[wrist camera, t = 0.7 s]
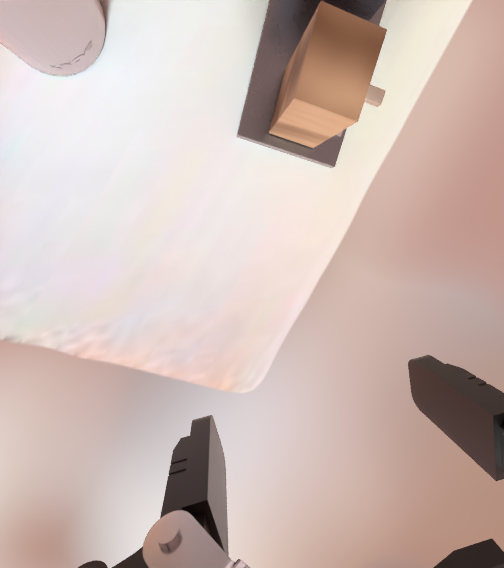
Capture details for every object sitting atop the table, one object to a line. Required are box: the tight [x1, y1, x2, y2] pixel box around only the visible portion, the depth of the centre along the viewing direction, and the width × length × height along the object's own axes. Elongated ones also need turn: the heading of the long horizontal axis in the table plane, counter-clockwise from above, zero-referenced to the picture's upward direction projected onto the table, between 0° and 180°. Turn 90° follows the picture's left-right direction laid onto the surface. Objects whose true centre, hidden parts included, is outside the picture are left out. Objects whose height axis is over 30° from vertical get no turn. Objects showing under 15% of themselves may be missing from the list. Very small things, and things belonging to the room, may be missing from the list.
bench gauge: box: [237, 0, 387, 168], centre depth 25 cm, size 17×11×11 cm, turn 164°
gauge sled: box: [269, 1, 387, 148], centre depth 26 cm, size 6×7×10 cm
